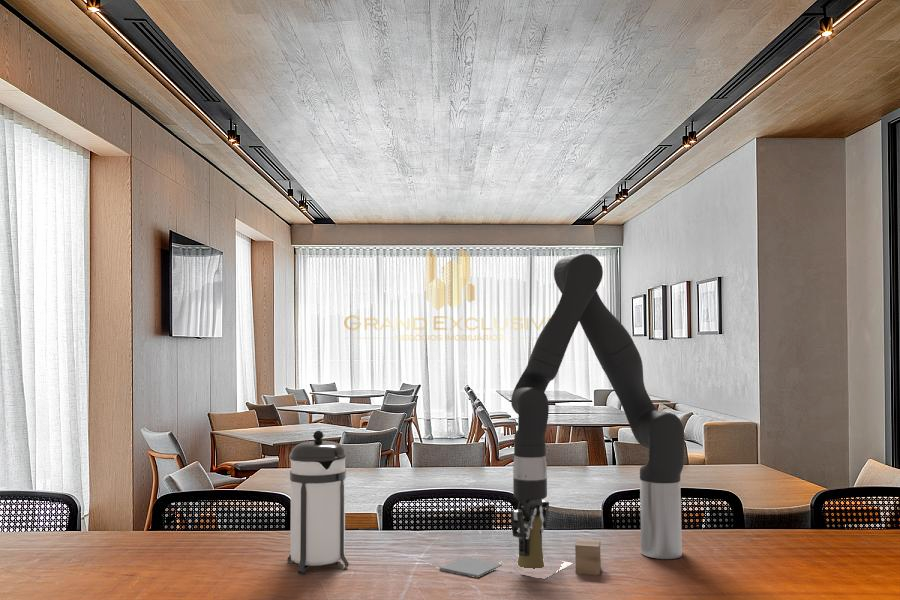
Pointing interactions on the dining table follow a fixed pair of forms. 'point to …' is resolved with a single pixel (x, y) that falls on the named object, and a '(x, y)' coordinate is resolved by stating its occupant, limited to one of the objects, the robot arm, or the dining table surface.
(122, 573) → the dining table surface
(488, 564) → the slate coaster
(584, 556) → the walnut block
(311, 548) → the coffee press
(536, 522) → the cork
